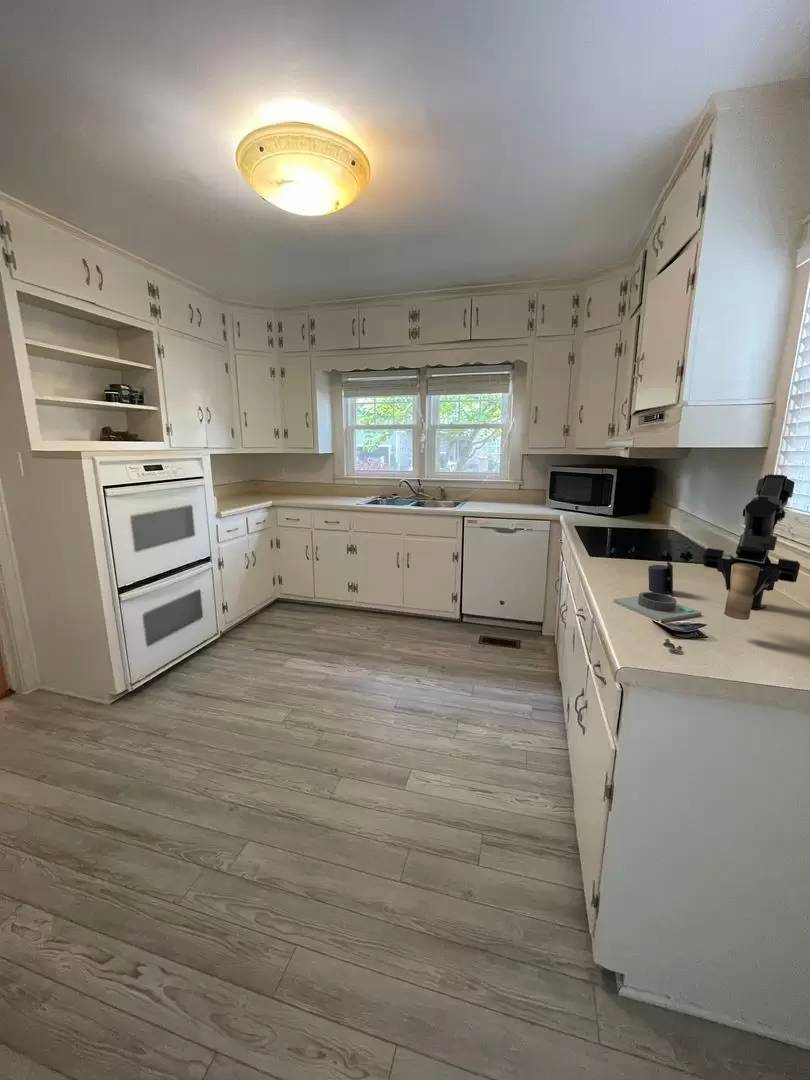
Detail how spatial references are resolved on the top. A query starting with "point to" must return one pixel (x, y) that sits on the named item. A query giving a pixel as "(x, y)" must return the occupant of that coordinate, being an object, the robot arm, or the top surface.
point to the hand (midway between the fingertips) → (740, 592)
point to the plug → (741, 591)
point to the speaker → (661, 578)
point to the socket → (657, 606)
